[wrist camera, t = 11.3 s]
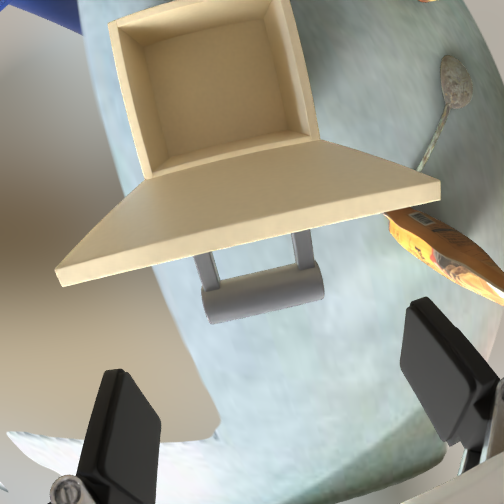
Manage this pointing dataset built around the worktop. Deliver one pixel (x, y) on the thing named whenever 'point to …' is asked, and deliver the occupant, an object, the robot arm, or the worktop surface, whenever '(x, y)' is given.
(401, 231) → the pancake mix bag
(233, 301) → the lid
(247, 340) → the worktop surface
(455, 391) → the robot arm
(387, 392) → the worktop surface
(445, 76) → the soupspoon
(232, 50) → the cream open box
